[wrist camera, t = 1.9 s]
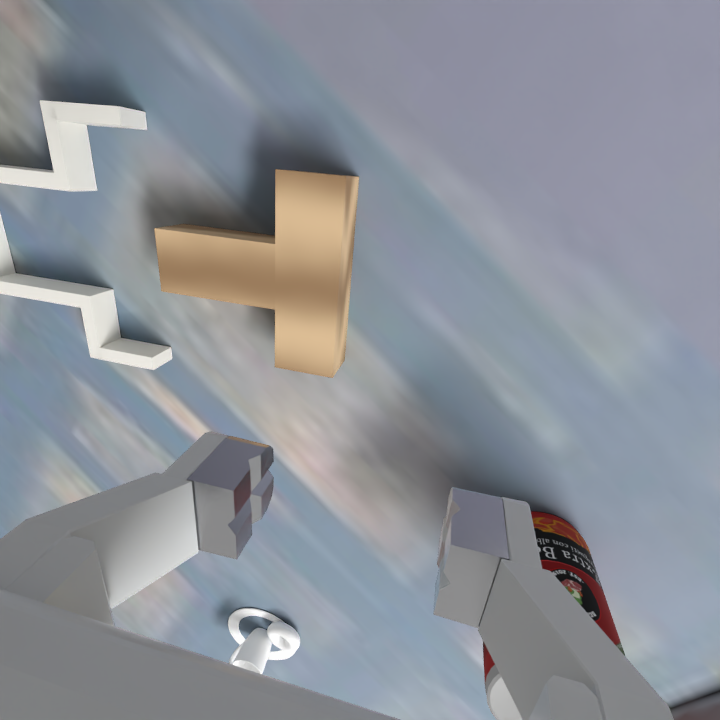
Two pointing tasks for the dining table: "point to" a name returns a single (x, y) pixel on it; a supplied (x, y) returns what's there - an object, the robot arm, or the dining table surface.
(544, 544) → the canned food
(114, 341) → the t socket
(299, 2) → the dining table surface
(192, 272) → the t block
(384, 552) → the dining table surface
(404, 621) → the dining table surface
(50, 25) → the dining table surface
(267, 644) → the white looped piece
